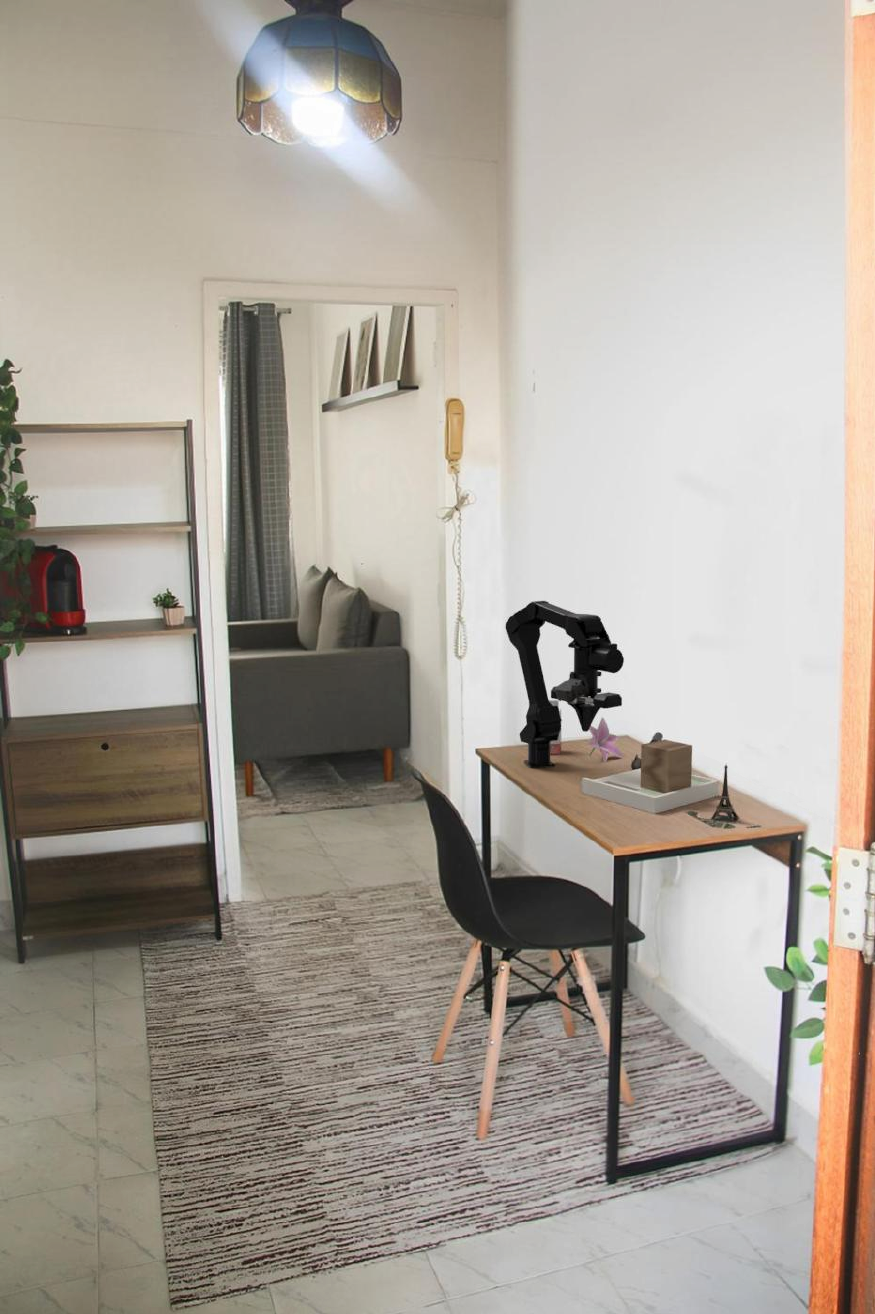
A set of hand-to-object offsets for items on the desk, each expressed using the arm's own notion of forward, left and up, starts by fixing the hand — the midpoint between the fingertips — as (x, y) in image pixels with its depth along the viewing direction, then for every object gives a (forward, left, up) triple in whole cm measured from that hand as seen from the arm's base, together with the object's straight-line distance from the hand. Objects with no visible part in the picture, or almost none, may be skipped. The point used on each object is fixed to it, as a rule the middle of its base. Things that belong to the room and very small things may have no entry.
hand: (585, 731), depth 267 cm
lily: (-19, +12, -12) cm, 26 cm away
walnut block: (+21, +12, -10) cm, 26 cm away
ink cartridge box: (-30, 0, -12) cm, 32 cm away
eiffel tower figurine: (+38, +16, -13) cm, 44 cm away
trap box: (+16, +10, -12) cm, 23 cm away
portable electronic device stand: (-7, +20, -12) cm, 25 cm away
